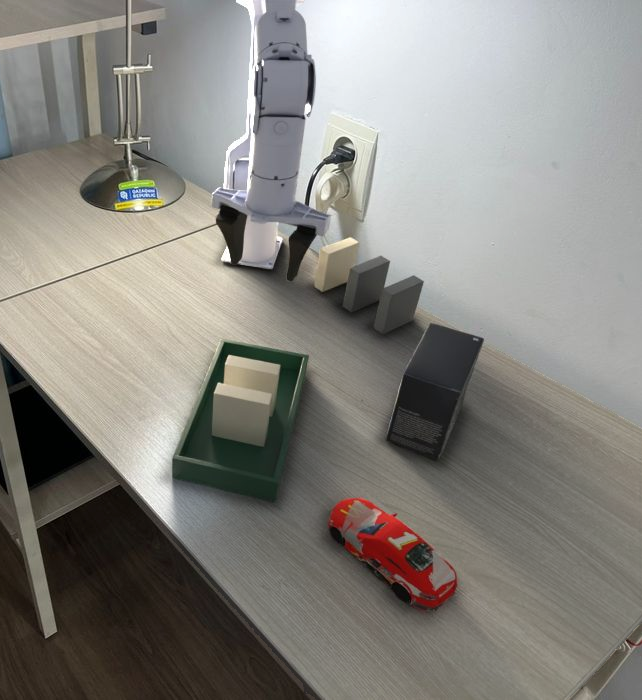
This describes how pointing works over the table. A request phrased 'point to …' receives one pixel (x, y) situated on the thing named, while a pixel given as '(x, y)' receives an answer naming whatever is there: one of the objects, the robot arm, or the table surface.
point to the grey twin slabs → (382, 294)
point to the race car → (393, 553)
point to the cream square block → (335, 263)
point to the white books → (245, 400)
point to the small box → (433, 390)
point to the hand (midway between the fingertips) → (263, 269)
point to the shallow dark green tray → (233, 456)
